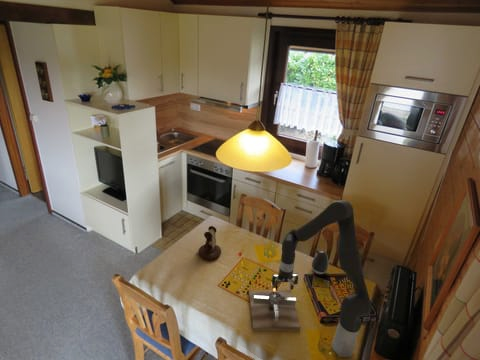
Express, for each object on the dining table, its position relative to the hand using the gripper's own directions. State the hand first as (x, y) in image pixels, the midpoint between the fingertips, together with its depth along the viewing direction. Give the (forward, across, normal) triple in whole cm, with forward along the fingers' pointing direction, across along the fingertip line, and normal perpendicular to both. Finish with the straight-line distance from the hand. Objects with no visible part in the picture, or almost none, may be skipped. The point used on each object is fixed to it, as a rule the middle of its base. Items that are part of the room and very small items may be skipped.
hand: (283, 289), depth 170 cm
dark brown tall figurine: (+5, +41, -36) cm, 55 cm away
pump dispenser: (+7, -28, -20) cm, 35 cm away
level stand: (+6, +7, +9) cm, 13 cm away
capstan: (+4, +7, +9) cm, 12 cm away
